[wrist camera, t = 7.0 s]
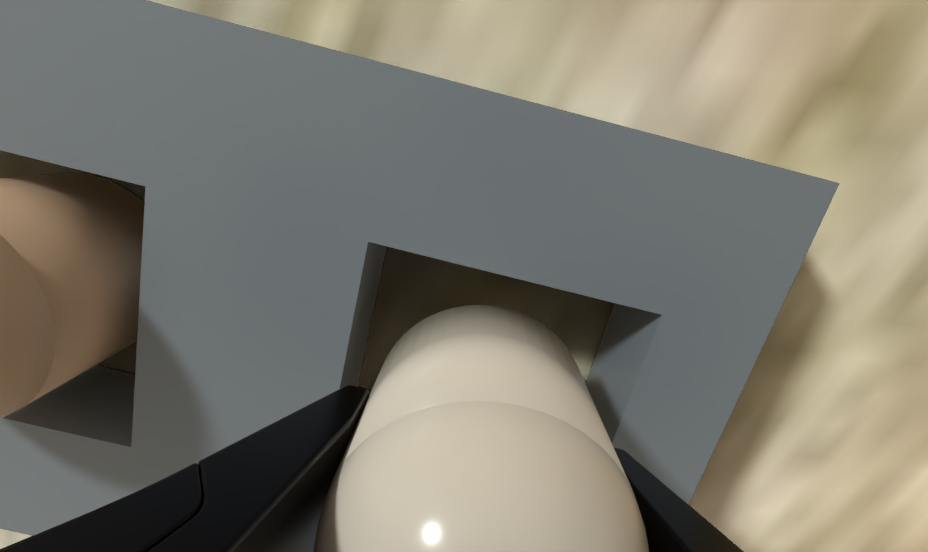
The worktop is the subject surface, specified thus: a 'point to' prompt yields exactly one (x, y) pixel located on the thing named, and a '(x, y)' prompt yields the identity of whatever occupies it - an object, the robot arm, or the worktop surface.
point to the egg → (480, 448)
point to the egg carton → (333, 243)
